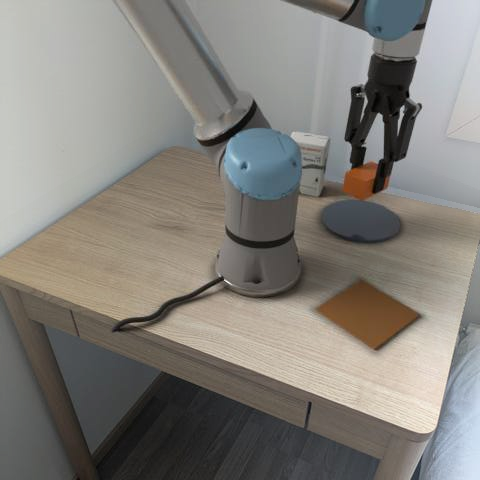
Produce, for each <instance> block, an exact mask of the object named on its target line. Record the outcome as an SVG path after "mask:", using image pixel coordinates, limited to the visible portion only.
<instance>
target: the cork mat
mask: <svg viewBox="0 0 480 480" xmlns="http://www.w3.org/2000/svg"><path fill="white" fill-rule="evenodd" d="M315 311H316V312H317V313H319V314H321V315H322V316H323V317H325V318H326V319H328V320H330V321H331V322H332V323H334V324H335V325H337V326H338V327H340V328H341V329H343V330H344V331H346V332H347V333H349V334H350V335H352V336H353V337H354V338H356V339H357V340H359V341H361V342H362V343H364V344H365V345H367V346H368V347H369V348H370V349H372V350H374V351H375V350H377V349H378V348H380V347H381V346H382V345H383V344H385V343H386V342H388V340H390V339H391V338H393V337H394V336H395V335H397V334H398V333H400V332H401V331H402V330H403V329H404V328H406V327H407V326H409V325H410V324H411V323H412V322H414V321H415V320H416V319H418V318H419V317H421V313H419V312H417V311H416V310H414V309H412V308H410V307H409V306H407V305H405V303H404V304H403V303H402V302H400V301H399V300H397V299H396V298H394V297H392V296H390V295H388V294H386V293H385V292H383V291H382V290H380V289H379V288H377V287H375V286H373V285H372V284H370V283H368V282H367V281H365V280H363V279H360V280H358V281H357V282H356V283H354V284H353V285H351V286H348V288H346V289H345V290H344V289H343V291H341V292H340V293H338V294H337V295H335V296H333V297H331V298H330V299H328V300H327V301H325V302H324V303H322V304H320V305H319V306H317V307H316V308H315Z"/></svg>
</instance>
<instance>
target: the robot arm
mask: <svg viewBox="0 0 480 480" xmlns="http://www.w3.org/2000/svg"><path fill="white" fill-rule="evenodd" d="M111 1H112V2H113V4H114V5H115V7H116V8H117V9H118V11H119V12H120V14H121V15H122V17H123V18H124V20H125V21H126V23H127V24H128V26H129V27H130V28H131V30H132V31H133V33H134V34H135V36H136V37H137V39H138V40H139V41H140V43H141V44H142V46H143V47H144V49H145V50H146V52H147V54H148V55H149V56H150V58H151V59H152V61H153V62H154V63H155V65H156V66H157V68H158V69H159V71H160V72H161V74H162V75H163V77H164V78H165V79H166V81H167V82H168V84H169V85H170V87H171V88H172V89H173V91H174V92H175V94H176V95H177V97H178V98H179V100H180V102H182V104H183V106H184V107H185V109H186V110H187V111H188V113H189V114H190V115H191V117H192V119H193V120H194V127H193V136H194V137H195V139H196V140H197V142H198V143H199V145H200V146H201V147H202V149H203V150H204V152H205V153H206V155H207V156H208V157H209V159H210V160H211V162H212V163H213V165H214V167H215V168H216V171H217V174H218V176H219V179H220V182H221V185H222V188H223V191H224V201H225V203H224V204H225V206H224V207H225V208H224V210H225V211H224V215H225V216H224V217H225V219H224V221H225V222H224V224H225V225H224V227H225V229H224V234H223V237H222V240H221V243H220V246H219V249H218V251H217V253H216V256H215V261H214V272H215V276H216V278H215V279H212V280H211V281H209V282H207V283H206V284H204V285H202V286H200V287H199V288H197V289H196V290H193V291H192V292H190V293H187V294H185V295H181V296H177V297H174V298H171V299H169V300H167V301H165V302H164V303H162V305H160V307H159V308H158V309H157V310H156V311H155V312H153V313H152V314H149V315H145V316H133V317H127V318H123V319H121V320H120V321H118V322H117V323H116V324H114V326H113V327H112V329H110V330H111V333H116V332H118V331H119V330H120V329H121V328H122V327H124V326H126V325H128V324H129V325H130V324H135V323H146V322H147V323H148V322H150V321H153V320H156V319H157V318H159V317H160V316H161V315H162V314H164V312H165V311H166V310H167V309H168V308H169V307H171V306H172V305H175V304H178V303H182V302H185V301H188V300H191V299H193V298H195V297H197V296H199V295H200V294H203V293H204V292H205V291H207V290H208V289H210V288H212V287H214V286H216V285H218V284H221V285H222V286H223V287H224V288H226V289H228V290H229V291H231V292H233V293H236V294H239V295H242V296H246V297H255V298H267V297H272V296H273V297H274V296H277V295H280V294H284V293H285V292H287V291H289V290H291V289H292V288H294V286H296V284H297V283H298V282H299V279H300V277H301V270H302V264H301V257H300V255H299V248H298V246H297V242H296V238H295V231H296V229H295V228H296V221H297V214H298V206H299V205H298V204H299V196H300V193H299V188H300V180H301V176H302V154H301V150H300V148H299V146H298V144H297V143H296V142H295V141H294V140H293V139H292V138H291V137H290V136H291V135H289V134H286V133H284V134H282V133H281V131H279V130H276V129H273V128H272V126H271V124H270V122H269V121H268V119H267V118H266V117H265V115H264V114H263V111H262V110H261V108H260V107H259V105H258V103H257V101H256V100H255V98H254V96H253V94H252V93H251V92H249V91H248V90H242V89H238V88H237V85H236V84H235V83H234V81H233V79H232V77H231V75H230V74H229V72H228V71H227V69H226V67H225V65H224V64H223V62H222V60H221V58H220V57H219V55H218V53H217V51H216V50H215V48H214V46H213V45H212V43H211V42H210V40H209V38H208V37H207V35H206V33H205V32H204V30H203V28H202V25H200V23H199V21H198V19H197V18H196V15H194V13H193V11H192V9H191V7H190V6H189V4H188V2H187V1H186V0H111ZM280 1H282V2H284V3H287V4H289V5H292V6H295V7H298V8H301V9H304V10H307V11H310V12H312V13H314V14H317V15H320V16H325V17H326V18H330V19H332V20H335V21H338V22H339V23H342V24H344V25H346V26H350V27H353V28H355V29H358V30H362V31H364V32H366V33H368V35H369V36H370V37H372V38H373V42H372V47H371V49H372V51H373V53H372V55H370V59H369V63H368V64H369V65H368V69H367V78H368V79H367V80H366V82H365V83H364V84H363V83H362V84H361V83H360V84H357V85H354V86H351V87H350V100H351V101H350V105H349V111H348V117H347V122H346V127H345V131H344V141H345V142H346V143H349V144H350V147H351V151H350V156H349V164H351V167H350V170H352V169H354V168H356V167H359V166H361V165H363V164H365V163H364V162H365V158H366V153H367V147H366V146H364V145H366V144H367V142H366V140H367V138H368V136H369V134H370V131H371V129H372V126H373V125H374V122H375V120H376V117H377V116H378V115H379V114H380V115H381V116H382V122H383V158H380V159H379V160H378V162H377V164H378V167H377V171H376V175H375V181H374V185H373V189H372V193H374V194H375V195H377V194H379V193H381V192H383V191H382V190H383V189H384V184H385V180H386V178H387V177H389V176H390V177H391V175H392V172H393V167H394V163H397V162H399V161H402V160H405V159H406V157H407V154H408V151H409V146H410V142H411V139H412V136H413V131H414V128H415V123H416V120H417V117H418V115H419V114H420V112H421V111H422V109H423V105H422V103H421V102H417V103H416V102H415V101H414V100H413V99H411V98H410V97H411V95H410V94H411V93H410V87H411V84H412V82H413V81H414V80H413V79H414V75H415V71H416V67H417V63H418V60H417V56H419V54H420V51H421V48H422V42H423V40H424V35H425V31H426V28H427V27H426V26H427V22H428V19H429V15H430V11H431V7H432V4H433V0H280ZM365 99H366V100H367V102H366V105H365ZM364 106H365V107H364ZM402 108H403V111H402V114H403V115H402V118H401V121H400V125H399V120H400V117H401V109H402ZM380 191H381V192H380ZM378 192H379V193H378ZM376 193H377V194H376Z"/></svg>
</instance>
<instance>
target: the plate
mask: <svg viewBox="0 0 480 480" xmlns="http://www.w3.org/2000/svg"><path fill="white" fill-rule="evenodd" d="M320 221H321V224H322V225H323V227H324V228H325V229H326V230H327V231H329V232H330V233H331V234H333V235H334V236H337V237H339V238H342V239H344V240H346V241H351V242H357V243H365V244H366V243H369V244H370V243H381V242H383V241H387V240H390V239H391V238H393V237H395V235H397V233H398V232H399V230H400V225H401V223H400V220H399V218H398V216H397V215H396V213H394V212H393V211H392V210H390V209H389V208H387V207H385V206H384V205H381V204H378V203H376V202H373V201H368V200H363V201H361V200H359V199H343V200H338V201H334V202H331V203H330V204H328V205H326V206H325V207H324V208H323V209H322V211H321V214H320Z"/></svg>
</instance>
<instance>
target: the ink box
mask: <svg viewBox="0 0 480 480" xmlns="http://www.w3.org/2000/svg"><path fill="white" fill-rule="evenodd" d="M289 136H290V137H291V138H292V139H293V140H294V141H295V142H296V143H297V144H298V146H299V148H300V150H301V154H302V176H301V180H300V188H299V195H300V194H301V195H306V196H312V197H320V195H321V193H322V191H323V188H324V184H325V177H326V171H327V164H328V159H329V153H330V146H331V140H332V139H331V138H330V137H329V136H327V135H326V136H325V135H319V134H313V133H309V132H302V131H293V132H291V134H290V135H289Z"/></svg>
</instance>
